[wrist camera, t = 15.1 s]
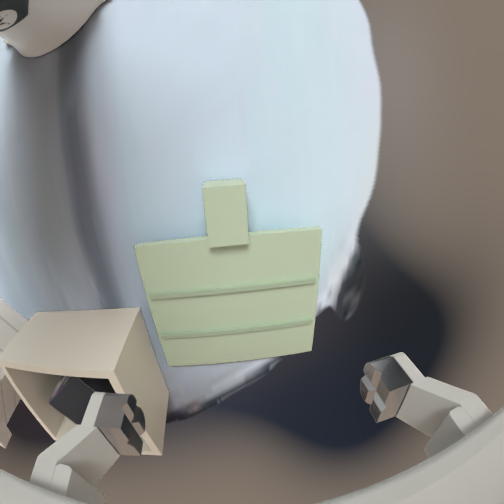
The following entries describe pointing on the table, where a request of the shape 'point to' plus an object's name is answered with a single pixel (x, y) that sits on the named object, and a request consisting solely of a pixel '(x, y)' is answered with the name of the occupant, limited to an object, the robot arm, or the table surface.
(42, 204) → the table surface
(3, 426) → the pizza boxes
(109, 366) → the tub
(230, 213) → the lid
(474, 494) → the robot arm
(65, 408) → the small box
